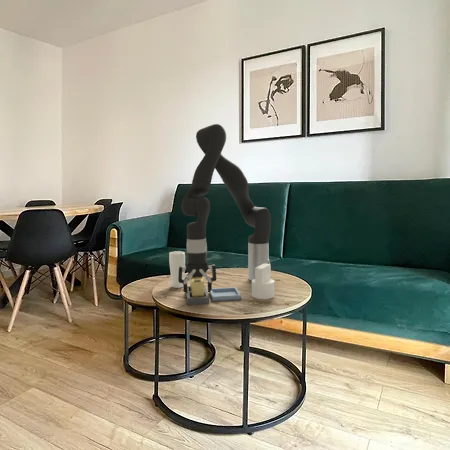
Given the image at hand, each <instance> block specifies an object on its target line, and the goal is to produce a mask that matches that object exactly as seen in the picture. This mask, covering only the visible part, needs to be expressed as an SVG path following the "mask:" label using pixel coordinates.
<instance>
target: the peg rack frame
mask: <svg viewBox="0 0 450 450" xmlns="http://www.w3.org/2000/svg"><path fill="white" fill-rule="evenodd" d="M185 295H186V302H187V306H195V305H210V294H209V292H208V288H207V287H206V285H205V284H204V297H192V296H191V291H190V285H187V294H186V293H185Z"/></svg>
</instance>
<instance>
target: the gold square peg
mask: <svg viewBox="0 0 450 450" xmlns="http://www.w3.org/2000/svg"><path fill="white" fill-rule="evenodd" d="M204 285H205V281H204V279H203V278H202V279H191V296H192V297H204Z"/></svg>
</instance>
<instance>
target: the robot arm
mask: <svg viewBox="0 0 450 450" xmlns="http://www.w3.org/2000/svg"><path fill="white" fill-rule="evenodd" d="M195 139H196V143H197V145H198V147H199V148H200V150H201V151H202V152H203V154H204V155H203V157H202V159H201V160H200V162H199V164H198V165H197V166H196V168H195V170H194V173H193V176H192V180H191V181H192V182H191V185H190V187H189V188H188V190H187V191H186V194H184V197H183V199H182V201H181V206H180V207H181V213H183V214H184V215H185V216H187V217H198V218H197V219H196V221H193V222H189V223H188V224H187V225H186V265H185V267H182V266H179V275H178V281H179V283H183V287H182V288H183V292H184V293H185V295H186V294H187V286H188V281H189V282H190V278H191V277H193V278H196V277H202V278H203V277H204V278H205V280H206V281H207V292H208V293H210V291H211V290H212V286H213V284H212V283H213V282H216V281H217V267H216V264H213V263H212V264H211V265H208V253H207V252H208V246H207V245H208V244H207V243H208V242H207V232H206V231H207V223H208V219H209V214H210V211H211V203H210V200H209V199H208V198H207V197H205V195H207V194H209V192H210V188H211V183H212V180H213V175H214V172H215V170H216V172H217V173H218V175H219V177H220V179H221V181H222V182H223V184H224V185H225V187H226V188H227V190H228V192H229V193H230V195H231V197H232V198H233V200H234V202H235V204H236V206H237V207H238V209H239V211H240V213H241V215H242V218H243V220H244V222H245V223H246V224H247V225H248V226H249V227H251V228H254V233H253V234H251V235H249V236H248V238H247V239H248V241H247V242H248V245H247V247H248V251H247V253H248V254H247V255H248V262H247V263H248V265H247V266H248V276H247V277H248V281H250V282H252V280H253V279H255V268H256V267H258V266H260V265H262V264H264V263H265V264H271V260H270V259H269V258H270V257H269V255H270V254H269V252H270V251H269V249H270V248H269V240H270V238H271V237H270V236H271V228H272V227H271V226H272V215H271V212H270V210H269V209H268V208H267V207H262V206H261V207H259V206H256V205H254V202H253V201H252V199H251V197H250V194H249V183H248V179H247V177H246V176H245V174H244V172H243V170H242V169H241V167H239V165H237V164H236V163H234V162H233V161H231V160H230V159H228V158H227V157H225V155H223V154H222V152H223V150H224V147H225V144H226V141H227V132H226V129H225V127H223V125H222V124H220V123H214V124H211V125H208V126H205V127H203V128H201V129H199V130H197V132H196V134H195ZM184 270H185V271H187V274H186V275H185V276H184V279H182V272H184ZM208 270H210V271H211V273H212V274H211V276H212V277H210V276H209V274H208V273H207V272H208Z"/></svg>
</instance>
